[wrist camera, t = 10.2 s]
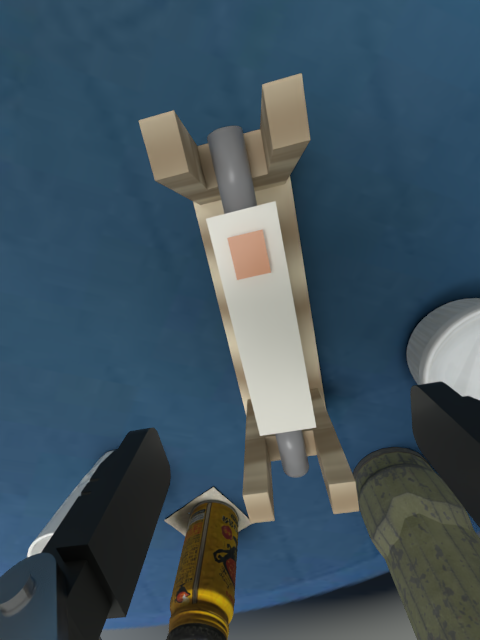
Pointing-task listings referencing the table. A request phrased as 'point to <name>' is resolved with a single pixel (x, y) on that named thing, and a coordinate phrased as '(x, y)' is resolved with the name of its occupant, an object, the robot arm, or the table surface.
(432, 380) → the ramekin
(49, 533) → the white cup
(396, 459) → the green thermos flask
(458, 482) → the robot arm
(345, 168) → the table surface
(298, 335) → the strip bar
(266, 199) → the rack
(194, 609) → the condiment
